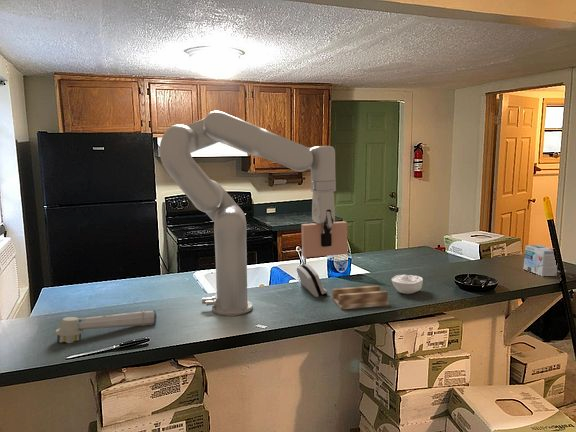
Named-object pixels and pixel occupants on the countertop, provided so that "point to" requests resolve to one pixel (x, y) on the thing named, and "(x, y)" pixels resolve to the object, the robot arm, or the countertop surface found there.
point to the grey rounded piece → (311, 280)
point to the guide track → (359, 297)
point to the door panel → (313, 240)
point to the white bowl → (407, 283)
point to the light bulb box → (540, 260)
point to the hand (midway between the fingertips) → (324, 244)
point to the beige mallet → (101, 324)
